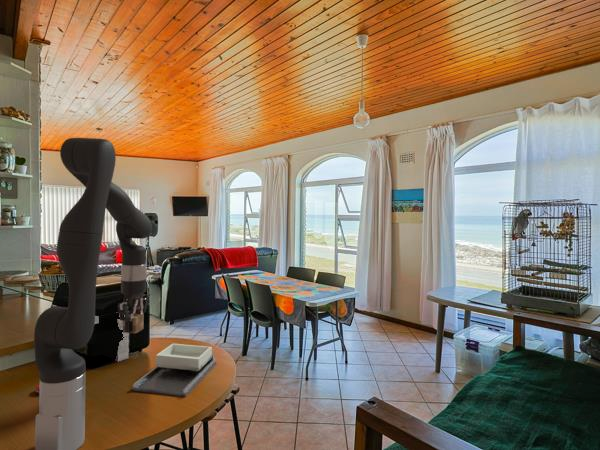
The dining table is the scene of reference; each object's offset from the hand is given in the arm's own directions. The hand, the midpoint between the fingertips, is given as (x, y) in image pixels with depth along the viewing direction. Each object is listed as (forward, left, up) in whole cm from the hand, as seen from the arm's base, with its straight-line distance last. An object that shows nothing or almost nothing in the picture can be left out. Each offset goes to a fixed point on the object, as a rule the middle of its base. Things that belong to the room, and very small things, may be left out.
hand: (133, 329), depth 120 cm
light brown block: (0, 0, 0) cm, 0 cm away
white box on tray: (+13, -12, -16) cm, 24 cm away
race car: (-7, +21, -18) cm, 29 cm away
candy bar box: (+18, +19, -18) cm, 32 cm away
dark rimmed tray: (+8, -12, -18) cm, 23 cm away
